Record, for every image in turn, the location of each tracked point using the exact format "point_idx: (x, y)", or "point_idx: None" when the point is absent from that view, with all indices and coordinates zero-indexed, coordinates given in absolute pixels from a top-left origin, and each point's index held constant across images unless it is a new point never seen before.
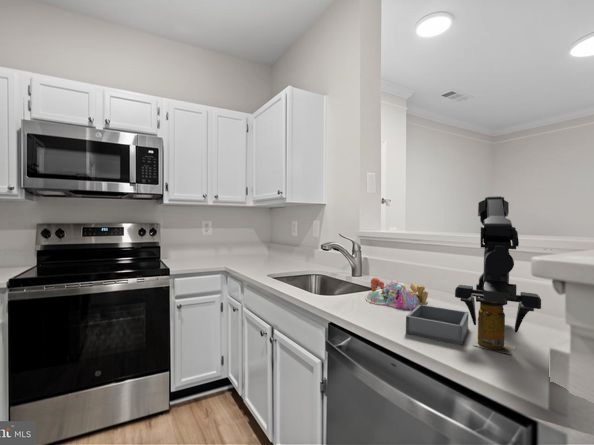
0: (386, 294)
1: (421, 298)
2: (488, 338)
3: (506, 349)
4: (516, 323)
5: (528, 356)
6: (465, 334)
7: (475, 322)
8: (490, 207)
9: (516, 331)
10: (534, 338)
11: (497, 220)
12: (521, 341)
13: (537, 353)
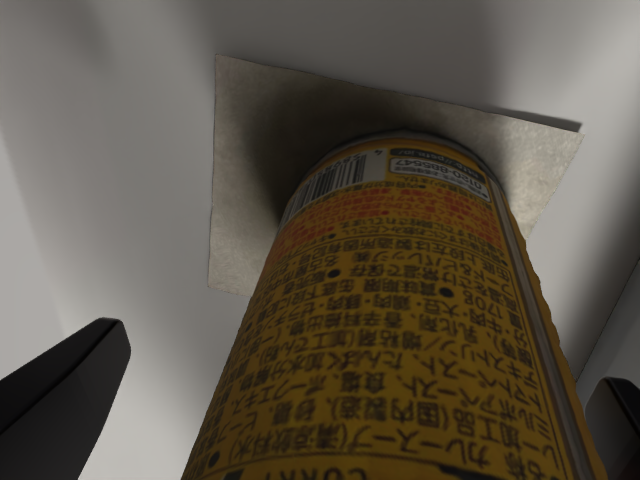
0: None
1: None
2: (431, 185)
3: (267, 198)
4: (18, 407)
5: (99, 133)
6: (586, 374)
7: (624, 405)
8: None
9: (98, 322)
10: (144, 462)
11: None
12: (194, 401)
13: (69, 240)
